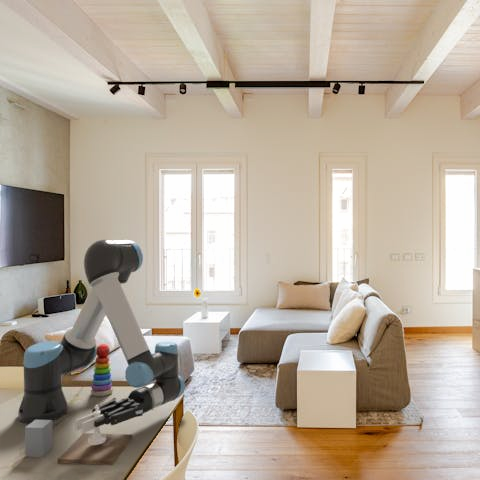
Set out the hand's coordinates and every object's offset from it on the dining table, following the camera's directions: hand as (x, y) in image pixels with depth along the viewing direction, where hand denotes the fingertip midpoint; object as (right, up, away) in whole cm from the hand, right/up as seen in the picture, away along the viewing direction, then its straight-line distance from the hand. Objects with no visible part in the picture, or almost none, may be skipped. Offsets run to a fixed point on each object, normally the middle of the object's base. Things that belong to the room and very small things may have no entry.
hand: (79, 426), depth 113 cm
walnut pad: (+3, -8, +5) cm, 10 cm away
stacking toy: (-10, -9, +48) cm, 50 cm away
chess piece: (+3, -6, +5) cm, 8 cm away
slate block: (-12, -9, +3) cm, 16 cm away
